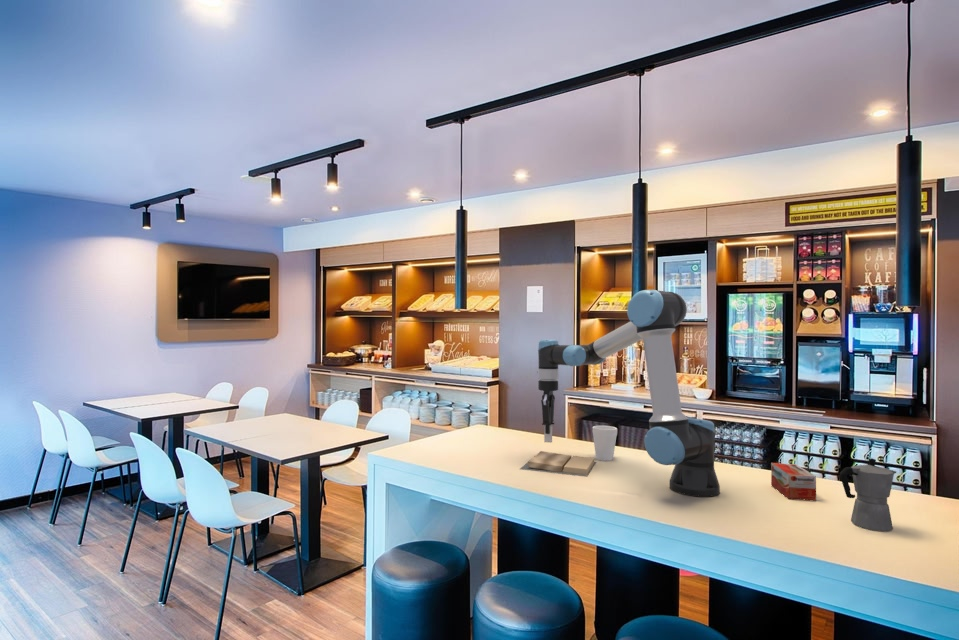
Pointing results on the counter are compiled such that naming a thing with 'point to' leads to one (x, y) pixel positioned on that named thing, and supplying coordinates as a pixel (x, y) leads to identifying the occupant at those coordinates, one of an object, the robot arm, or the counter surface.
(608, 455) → the foam cup
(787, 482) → the medicine box
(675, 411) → the robot arm
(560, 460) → the plank
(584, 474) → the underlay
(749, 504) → the counter surface
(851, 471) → the coffeepot
